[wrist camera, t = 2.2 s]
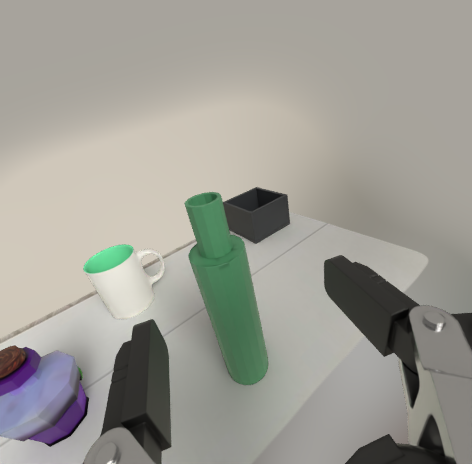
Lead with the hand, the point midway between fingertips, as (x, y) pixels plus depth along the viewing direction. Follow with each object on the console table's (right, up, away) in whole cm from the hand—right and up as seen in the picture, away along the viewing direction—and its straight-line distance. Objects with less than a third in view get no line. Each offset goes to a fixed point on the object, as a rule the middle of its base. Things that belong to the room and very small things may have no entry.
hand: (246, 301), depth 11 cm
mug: (-18, -9, +36) cm, 41 cm away
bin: (+5, +4, +51) cm, 51 cm away
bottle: (+1, -14, +20) cm, 24 cm away
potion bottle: (-21, -20, +19) cm, 35 cm away
